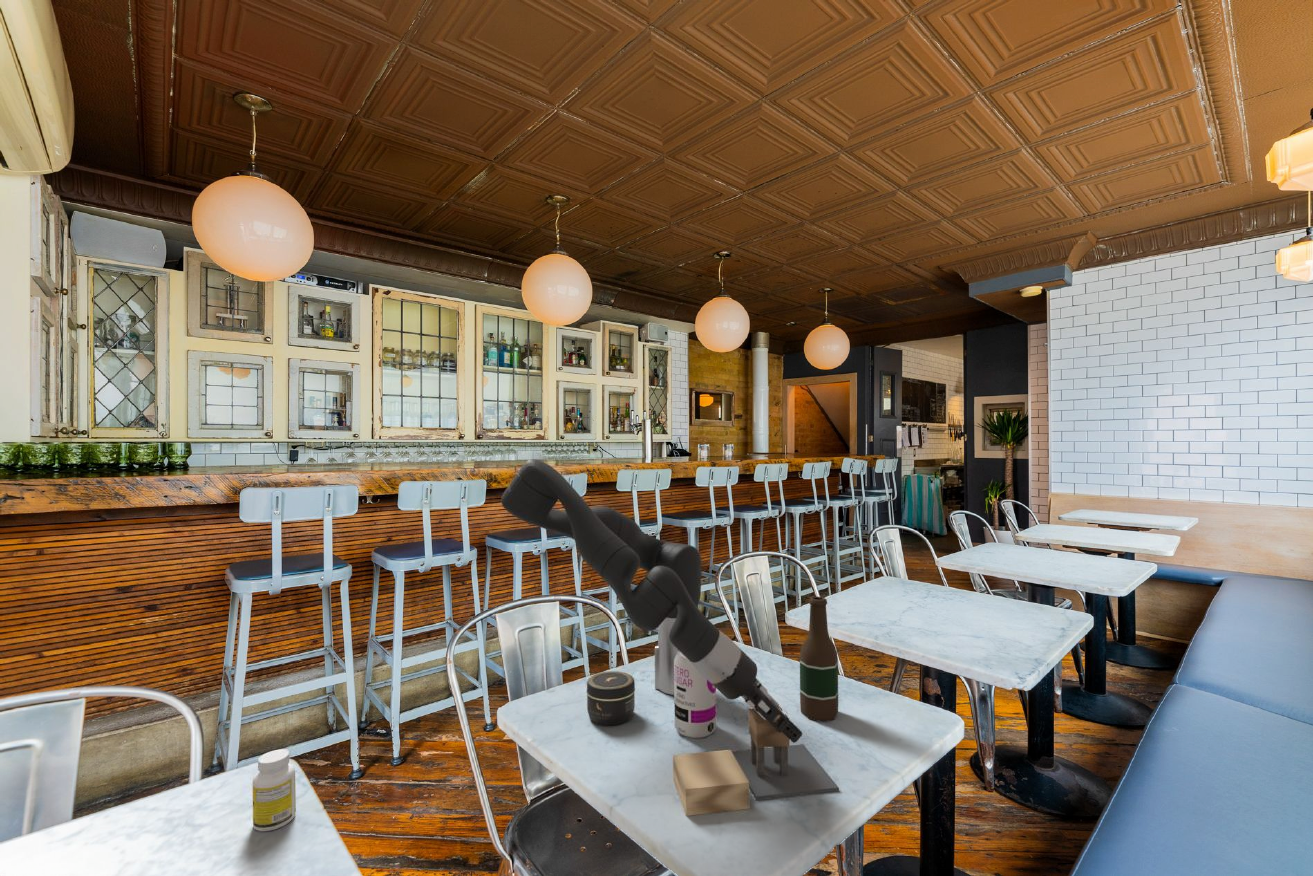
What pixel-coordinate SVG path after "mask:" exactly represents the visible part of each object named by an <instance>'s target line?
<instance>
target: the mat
mask: <svg viewBox="0 0 1313 876" xmlns="http://www.w3.org/2000/svg"><path fill="white" fill-rule="evenodd" d="M731 752H732V753H733V755H734V757H735V759H736V760H737V762H738V764H739V765H740V767H741V769H742V771H743V772H744V774H745V776H746V778H747V779H748V781H749V792H751V794H752V796H753V798H754V800H755V801H760V800H761V801H762V800H763V801H764V800H770V799H772V800H773V799H780V798H788V797H797V796H806V795H816V794H824V793H832V792H833V793H834V792H840V791H839V790H840V787H839V786H838V784H837V783H836V782H835V781H834V780H833V779H832V778H831V776H830V775H829V773H828V772H827V771H826V770H825V768H824V767H822V765H821V764H820V762H819V761H818V760H817V759H816V758H815V756H813V754H812V753H811V752H810V751H809V750H808V748H807V747H806V746H805V745H804V743H803V744H802V743H801V744H790V746H788V775H786V776H781V774H780V763H775V762H774V760H773V747H764V764H765V777H758V776H757V773H756V764H752V762H751V748H749V749H748V748H747V749H741V750H740V749H739V750H738V749H737V750H731Z"/></svg>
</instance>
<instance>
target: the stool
mask: <svg viewBox="0 0 1313 876" xmlns="http://www.w3.org/2000/svg"><path fill="white" fill-rule="evenodd" d="M780 707H781V706H780ZM780 707H779V709H780V710H781V709H782V707H781V708H780ZM781 711H782V712H783V709H782V710H781ZM779 717H780V715H778V716H777V717H776V718H775V719H774V721H775V722H776V721H777V720H778V718H779ZM748 733H749V734H750V735H749V736H750V749H751V762H752V764H756V773H757V776H758V777H765V764H764V748H769V747H773V760H774V762H775V763H780V774H781V776H786V775H788V746H790V745H791V743H790V741H791V740H790V739H789V738H788V737H787V736H786V735H785V734H784V733H783V732H781V733H780V732H778V731H777V730H776V728H774V727H773V726H772V725H771V724H770V723H769V722H768V721H767V720H764V719H763V718H762V717H761V716H760V715H759V714H758V713H757V712H756V710H755V709H754V708H748Z"/></svg>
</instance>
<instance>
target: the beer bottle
mask: <svg viewBox="0 0 1313 876" xmlns="http://www.w3.org/2000/svg"><path fill="white" fill-rule="evenodd" d="M808 604H809V605H810V606H809V607H810V608H809V627H808V634H807V638H806V639H805V641H803V643H802V645H801V648H800V651H799V652H800V654H799V699H800V700H799V703H800V704H799V706H800V713H801V714H802V715H804V716H805V717H806V718H807V719H808V720H811V721H812V720H813V721H818V722H823V723H824V722H829V721H834V720H835V719H836V718H837V715H838V713H839V659H838V651H837V649H836V645H835V644H834V643H833V640H832V639H831V638H830V635H829V630H828V629H829V628H828V616H827V605H828V601H827V598H824V597H822V596H812V597H810V598H809V601H808Z"/></svg>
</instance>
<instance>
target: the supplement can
mask: <svg viewBox="0 0 1313 876" xmlns="http://www.w3.org/2000/svg"><path fill="white" fill-rule="evenodd" d="M673 697H674V700H673V701H674V728H675V729H676V731H678V733H679V734H680V735H682V736H684V737H687V738H691V739H692V738H693V739H700V738H705V737H709V736H710V735H711V734H713V732H714V731H716V728H717V688H716V687H714V686H713V685H712V684H711V683H710V682H709V681H708V680H707V679H706V678H705V677H704V676H703V675H702V674H701V673H700V672H699V671H698V670H697V669H696V667H695V666H694V665H693V664H692V663H691V662H690V661H689V660H688V659H687V658H686V657H685V656H684V655H683V654H682V653H681V652H680V651H678V652H677V655H676V657H675V659H674V695H673Z"/></svg>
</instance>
